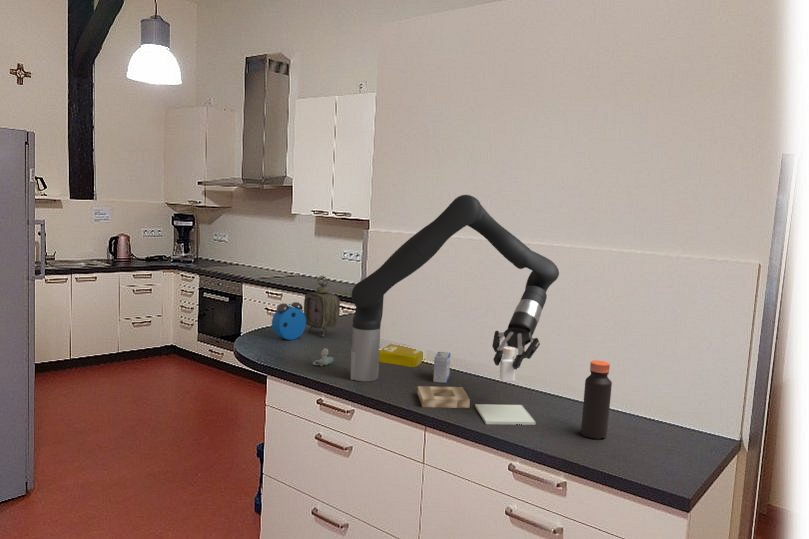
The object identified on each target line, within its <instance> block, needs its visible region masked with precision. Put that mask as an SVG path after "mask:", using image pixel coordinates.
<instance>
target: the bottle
mask: <svg viewBox="0 0 809 539" xmlns="http://www.w3.org/2000/svg"><path fill="white" fill-rule="evenodd" d="M589 366H590V367H589V372H590V375H589V376H587V377H586V378H585V381H584V391H583V392H584V393H583V401H582V403H583V405H582V415H581V425H580V427H581V428H580V434H581V435H582V434H583V435H582V436H584V435H585V436H587V437H586V438H588V437H590V438H589V439H591V438H596V439H595V440H602V439H601V438H604V439H606V438H607V436H608V429H609V428H608V427H609V418H610V407H611V406H610V405H611V395H612V385H613V383H612V380H611V379H610V378H609V377H608V375H609V373H610V369H611V368H610V367H611V364H610V363H609V362H607V361H604V360H591V361H590V365H589ZM585 436H584V437H585ZM605 437H606V438H605Z"/></svg>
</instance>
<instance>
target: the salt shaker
mask: <svg viewBox="0 0 809 539" xmlns="http://www.w3.org/2000/svg"><path fill="white" fill-rule="evenodd" d="M515 350H516V348H515V347H504V348H503V356H502V358H501V361H500V363H499V366H500V367H499V379H500V381H501V382H505V383H506V382H508V383H514V382H515V381H516V370H515V369H514V368H513V363H514V360H515V352H516V351H515Z"/></svg>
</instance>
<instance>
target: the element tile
mask: <svg viewBox="0 0 809 539" xmlns="http://www.w3.org/2000/svg"><path fill="white" fill-rule="evenodd" d="M397 344H398V343H395V344H392V343H390V344H388V345H386V346H384V347H383V348H381V349H379V363H384V364H388V365H389V364H390V365H398V366H405V367H409V368H411V367H412V368H414V367H417V366H419V365H420V364H421V363H422V360H423V352H422V351H420V350H416V349H412V348H408V347H404V346H400V345H397Z"/></svg>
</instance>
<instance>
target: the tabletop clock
mask: <svg viewBox="0 0 809 539" xmlns="http://www.w3.org/2000/svg"><path fill="white" fill-rule="evenodd" d="M320 279H325V282H326V284H325V283H324V282H321V283H320ZM317 283H318V285H319V287H318V288H316V291H315V292H307V293H305V296H304V300H303V313H304V315H305V317H306V326H309V327H310V328H307V331H306V332H307V333H311V331H312V329H313V328H314V329H323V330H322V331H323V332H322V333H321V337H322V338H325V337H326V335H327V333H328V330H326V329H327V328H333V327H336V326H337V325H338V324H339V320H340V312H341V309H340V308H341V306H340V305H341V304H340V302H341V301H340V298H339V297H338V296H337V295H335V294H333V293H330V292H329V289H328V288H327V287H326V286H327V285H328V284H329V282H328V278H327V277H326V276H324V275H320V276H319V277H318V278H317Z"/></svg>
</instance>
